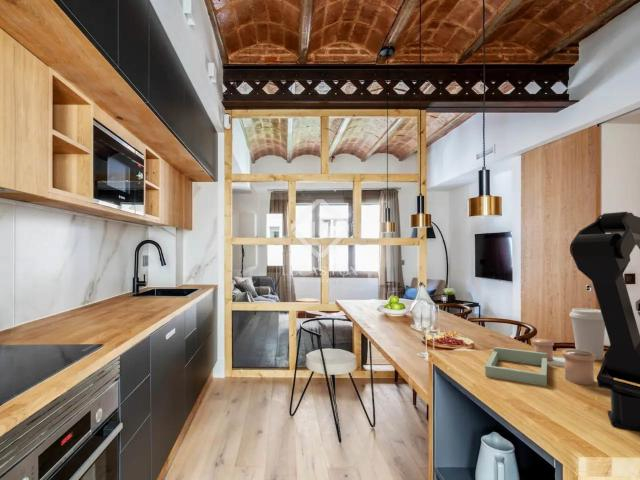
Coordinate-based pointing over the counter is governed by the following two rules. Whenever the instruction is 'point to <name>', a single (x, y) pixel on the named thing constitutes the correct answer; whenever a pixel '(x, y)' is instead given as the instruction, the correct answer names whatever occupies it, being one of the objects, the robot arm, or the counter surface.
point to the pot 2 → (579, 366)
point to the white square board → (557, 361)
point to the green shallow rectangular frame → (515, 374)
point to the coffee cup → (588, 330)
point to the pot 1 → (544, 347)
